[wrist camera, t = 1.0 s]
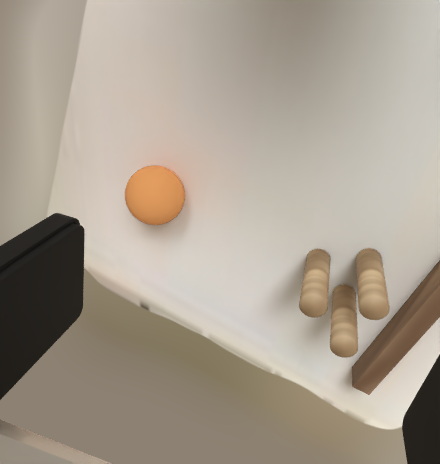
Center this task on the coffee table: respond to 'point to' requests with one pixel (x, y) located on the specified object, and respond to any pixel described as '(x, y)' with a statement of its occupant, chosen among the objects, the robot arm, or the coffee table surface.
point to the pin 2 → (371, 285)
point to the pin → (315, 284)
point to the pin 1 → (344, 322)
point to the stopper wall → (399, 334)
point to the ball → (154, 195)
